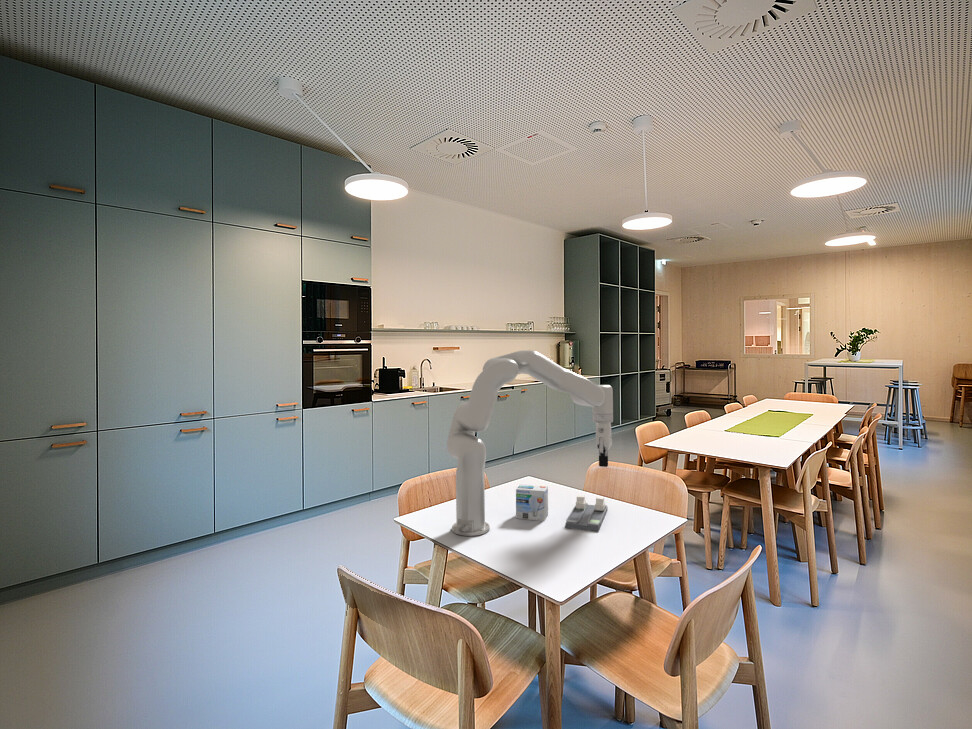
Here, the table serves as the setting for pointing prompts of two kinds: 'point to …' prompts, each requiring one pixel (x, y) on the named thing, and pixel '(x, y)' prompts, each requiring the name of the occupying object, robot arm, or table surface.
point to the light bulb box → (532, 502)
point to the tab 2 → (600, 504)
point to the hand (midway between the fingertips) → (603, 466)
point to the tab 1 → (580, 502)
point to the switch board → (586, 518)
